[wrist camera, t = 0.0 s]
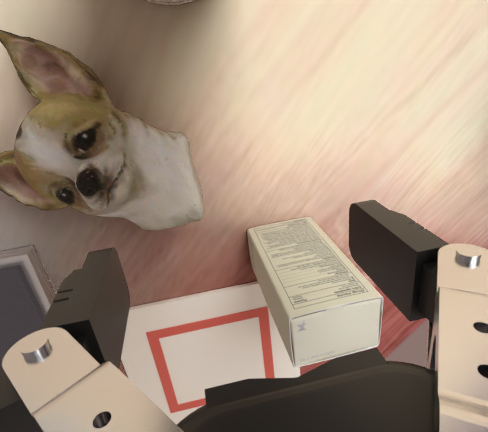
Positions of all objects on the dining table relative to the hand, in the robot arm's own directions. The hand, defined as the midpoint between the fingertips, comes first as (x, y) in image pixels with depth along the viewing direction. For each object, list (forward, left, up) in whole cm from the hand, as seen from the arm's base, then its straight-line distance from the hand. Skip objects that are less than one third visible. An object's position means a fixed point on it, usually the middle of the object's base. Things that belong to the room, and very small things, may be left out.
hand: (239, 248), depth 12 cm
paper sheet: (+24, -2, -17) cm, 29 cm away
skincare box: (+11, +6, -17) cm, 21 cm away
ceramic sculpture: (0, -7, -18) cm, 19 cm away
